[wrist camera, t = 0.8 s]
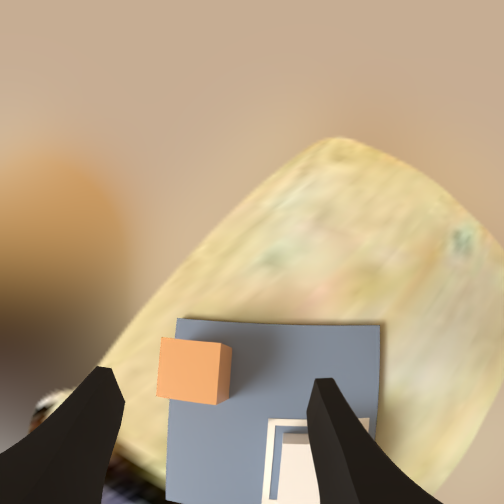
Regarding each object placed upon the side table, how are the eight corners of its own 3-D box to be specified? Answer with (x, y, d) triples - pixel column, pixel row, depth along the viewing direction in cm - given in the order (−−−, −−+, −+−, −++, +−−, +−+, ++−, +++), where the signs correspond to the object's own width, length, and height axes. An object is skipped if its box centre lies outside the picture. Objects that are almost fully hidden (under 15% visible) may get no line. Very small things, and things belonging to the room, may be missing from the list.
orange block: (228, 399, 24) (216, 405, 20) (178, 392, 25) (156, 396, 20) (232, 347, 26) (220, 342, 21) (182, 343, 26) (161, 337, 22)
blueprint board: (362, 510, 19) (364, 512, 19) (168, 497, 21) (165, 500, 21) (377, 326, 26) (380, 325, 25) (179, 319, 28) (176, 317, 27)
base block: (346, 492, 20) (355, 509, 16) (277, 493, 21) (276, 511, 17) (353, 432, 22) (364, 442, 18) (282, 433, 23) (282, 443, 19)
